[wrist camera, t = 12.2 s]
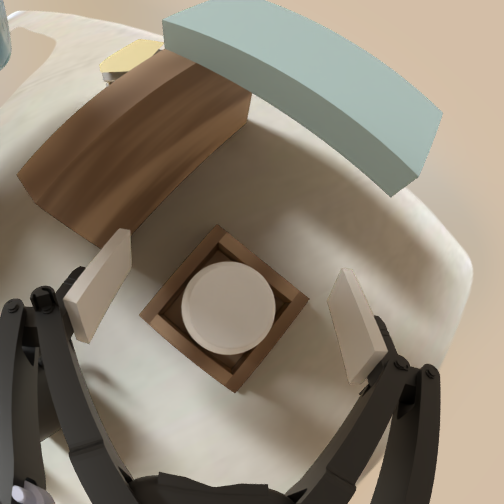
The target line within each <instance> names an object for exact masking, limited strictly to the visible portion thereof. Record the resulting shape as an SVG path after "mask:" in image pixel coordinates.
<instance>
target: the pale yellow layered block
mask: <svg viewBox="0 0 504 504" xmlns="http://www.w3.org/2000/svg"><path fill="white" fill-rule="evenodd" d="M163 44H164V42H158V41H151V40H143V39H138V40H136V41H135V42H133V43H131V44H129V45H128V46H126V47H124V48H122V49H121V50H119V51H117V52H116V53H114V54H113V55H111V56H109V57H108V58H107V59H105V60H104V61H103V62H102V63H101V64H100V65H99V66H100V71H101V72H102V75H103V80H104V82H107V83H106V86H109V85H110V84H112V83H113V82H114V81H116V80H117V79H118V78H120V77H121V76H123V75H124V74H125V73H127V72H128V71H130V70H131V69H133V68H134V67H136V66H137V65H139V64H140V63H142V62H144V61H145V60H147V59H148V58H150V57H152V56H153V55H155V54H157V53H158V52H160V51H162V50H160V49H159V48H160V47H161V46H162V45H163Z"/></svg>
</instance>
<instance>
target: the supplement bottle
mask: <svg viewBox="0 0 504 504" xmlns="http://www.w3.org/2000/svg"><path fill="white" fill-rule="evenodd" d="M181 309H182V318H183V321H184V324H185V327H186V329H187V331H188V332H189V334H190V335H191V337H192V338H193V339H194V340H195V341H196V342H197V343H198V344H199V345H201V346H202V347H204V348H205V349H207V350H209V351H212V352H214V353H218V354H224V355H233V354H239V353H243V352H245V351H248V350H250V349H252V348H254V347H255V346H257V345H258V344H259V343H260V342H261V341H262V340H263V339H264V338H265V337H266V335H267V334H268V332H269V331H270V329H271V327H272V324H273V321H274V317H275V299H274V295H273V292H272V290H271V288H270V286H269V284H268V282H267V281H266V280H265V278H264V277H263V276H262V275H261V274H260V273H259V272H257V271H256V270H255V269H253V268H251V267H249V266H247V265H245V264H242V263H238V262H219V263H215V264H212V265H209V266H207V267H205V268H203V269H202V270H200V271H199V272H198V273H197V274H195V275H194V277H193V278H192V279H191V280H190V282H189V283H188V285H187V287H186V289H185V291H184V294H183V298H182V305H181Z"/></svg>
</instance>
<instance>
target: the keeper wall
mask: <svg viewBox="0 0 504 504" xmlns="http://www.w3.org/2000/svg"><path fill="white" fill-rule="evenodd" d="M251 96H252V93H251V92H250V91H248V90H246V89H245V88H243V87H241V86H239V85H238V84H236V83H234V82H232V81H230V80H229V79H227V78H225V77H223V76H221V75H219V74H217V73H215V72H214V71H212V70H210V69H208V68H206V67H204V66H202V65H200V64H198V63H196V62H193V61H191V60H189V59H187V58H185V57H183V56H181V55H178V54H176V53H174V52H171V51H169V50H167V49H164V50H162V51H160V52H158V53H157V54H155V55H153V56H152V57H150V58H148V59H147V60H145V61H144V62H142V63H140V64H139V65H137V66H136V67H134V68H133V69H131V70H130V71H128V72H127V73H125V74H124V75H123V76H121V77H120V78H118V79H117V80H116V81H114V82H113V83H112V84H110V85H109V86H107V87H106V88H105V89H104V90H102V91H101V92H100V93H98V94H97V95H96V96H95V97H93V98H92V99H91V100H90V101H89V102H87V103H86V104H85V105H84V106H83V107H82V108H80V109H79V110H78V111H77V112H76V113H75V114H74V115H72V116H71V117H70V118H69V119H68V120H67V121H66V122H65V123H64V124H63V125H62V126H61V127H60V128H59V129H58V130H57V131H56V132H55V133H54V134H53V135H52V136H51V137H50V138H49V139H48V140H47V141H46V142H45V143H44V144H43V145H42V146H41V147H40V148H39V149H38V150H37V151H36V153H35V154H34V155H33V156H32V157H31V158H30V159H29V160H28V162H27V163H26V164H25V165H24V166H23V168H22V169H21V170H20V171H19V172H18V174H17V176H18V178H19V180H20V181H21V183H22V184H23V186H24V187H25V189H26V191H27V192H28V194H29V195H30V197H31V198H32V199H33V201H34V202H35V204H36V205H38V206H39V207H40V208H42V209H43V210H45V211H46V212H47V213H49V214H50V215H52V216H53V217H54V218H56V219H57V220H59V221H60V222H61V223H63V224H64V225H66V226H67V227H69V228H70V229H72V230H73V231H74V232H76V233H77V234H79V235H80V236H82V237H83V238H85V239H86V240H88V241H89V242H91V243H93V244H94V245H96V246H97V247H99V248H100V249H102V248H103V247H104V245H105V244H106V243H107V242H108V241H109V239H110V238H111V237H112V236H113V235H114V234H115V233H116V231H117V230H118V229H119V228H121V229H127V230H130V234H131V235H132V234H133V233H134V232H135V231H136V230H137V228H138V227H139V226H140V225H141V224H142V223H143V222H144V221H145V220H146V219H147V217H148V216H149V215H150V214H151V213H152V212H153V211H154V210H155V209H156V208H157V207H158V206H159V205H160V204H161V203H162V202H163V200H164V199H165V198H166V197H167V196H168V195H169V194H170V193H171V192H172V191H173V190H174V189H175V188H176V187H177V186H178V185H179V184H180V183H181V182H182V181H183V180H184V179H185V178H186V177H187V176H188V175H189V174H190V173H192V172H193V171H194V170H195V169H196V168H197V167H198V166H199V165H200V164H201V163H202V162H203V161H204V160H205V159H206V158H207V157H209V156H210V155H211V154H212V153H213V152H214V151H215V150H216V149H217V148H218V147H220V146H221V145H222V144H223V143H224V142H225V141H226V140H227V139H229V138H230V137H231V136H232V135H233V134H234V133H235V132H237V131H238V130H239V129H240V128H241V127H243V126H244V125H245V124H246V122H247V117H248V112H249V106H250V101H251Z"/></svg>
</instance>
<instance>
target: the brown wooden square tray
mask: <svg viewBox="0 0 504 504" xmlns="http://www.w3.org/2000/svg"><path fill="white" fill-rule="evenodd" d="M219 262H238V263H242V264H245V265H247V266H249V267H251V268H253V269H255V270H256V271H257V272H259V273H260V274H261V275H262V276H263V277H264V278H265V280H266V281H267V282H268V284H269V286H270V288H271V290H272V292H273V295H274V299H275V317H274V321H273V324H272V327H271V329H270V331H269V332H268V334H267V335H266V337H265V338H264V339H263V340H262V341H261V342H260V343H259V344H258V345H257V346H255V347H254V348H252V349H250V350H248V351H245V352H243V353H239V354H233V355H224V354H218V353H214V352H212V351H209V350H207V349H205V348H204V347H202V346H201V345H199V344H198V343H197V342H196V341H195V340H194V339H193V338H192V337H191V335H190V334H189V332H188V331H187V329H186V327H185V324H184V321H183V318H182V309H181V305H182V298H183V294H184V291H185V289H186V287H187V285H188V283H189V282H190V280H191V279H192V278H193V277H194V275H195V274H197V273H198V272H199V271H200V270H202V269H203V268H205V267H207V266H209V265H212V264H215V263H219ZM308 300H309V298H308V297H307V296H305V295H304V294H303V293H302V292H300V291H299V290H298V289H297V288H295V287H294V286H293V285H292V284H291V283H289V282H288V281H287V280H286V279H284V278H283V277H282V276H281V275H279V274H278V273H277V272H276V271H275V270H273V269H272V268H271V267H270V266H268V265H267V264H266V263H265V262H263V261H262V260H261V259H260V258H259V257H257V256H256V255H255V254H254V253H252V252H251V251H250V250H249V249H247V248H246V247H245V246H244V245H243V244H241V243H240V242H239V241H238V240H236V239H235V238H234V237H233V236H231V235H230V234H229V233H228V232H227V231H225V230H224V229H223V228H222V227H220V226H219V225H218V224H217V225H216V226H215V227H214V228H213V229H212V230H211V231H210V232H209V233H208V235H207V236H206V237H205V238H204V239H203V240H202V241H201V242H200V244H199V245H198V246H197V247H196V248H195V249H194V250H193V252H192V253H191V254H190V255H189V256H188V257H187V258H186V260H185V261H184V262H183V263H182V264H181V265H180V267H179V268H178V269H177V270H176V271H175V272H174V274H173V275H172V276H171V277H170V278H169V279H168V281H167V282H166V283H165V284H164V285H163V287H162V288H161V289H160V290H159V291H158V293H157V294H156V295H155V296H154V297H153V299H152V300H151V301H150V302H149V303H148V305H147V306H146V307H145V308H144V309H143V311H142V312H141V313H140V314H139V316H140V317H141V318H142V319H143V320H145V321H146V322H147V323H148V324H149V325H150V326H151V327H152V328H153V329H154V330H156V331H157V332H158V333H159V334H160V335H161V336H162V337H164V338H165V339H166V340H167V341H168V342H169V343H170V344H172V345H173V346H174V347H175V348H176V349H178V350H179V351H180V352H181V353H182V354H184V355H185V356H186V357H187V358H189V359H190V360H191V361H192V362H194V363H195V364H196V365H197V366H199V367H200V368H201V369H202V370H204V371H205V372H206V373H208V374H209V375H210V376H212V377H213V378H214V379H216V380H217V381H218V382H220V383H221V384H222V385H224V386H225V387H227V388H228V389H229V390H231V391H232V392H234V393H236V392H237V391H238V389H239V388H240V387H241V386H242V385H243V383H244V382H245V381H246V380H247V379H248V378H249V376H250V375H251V374H252V373H253V372H254V370H255V369H256V368H257V367H258V365H259V364H260V363H261V362H262V361H263V359H264V358H265V357H266V356H267V354H268V353H269V352H270V351H271V349H272V348H273V347H274V346H275V344H276V343H277V342H278V340H279V339H280V338H281V337H282V335H283V334H284V333H285V331H286V330H287V329H288V327H289V326H290V325H291V323H292V322H293V321H294V319H295V318H296V317H297V315H298V314H299V313H300V311H301V310H302V309H303V307H304V306H305V305H306V303H307V302H308Z"/></svg>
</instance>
